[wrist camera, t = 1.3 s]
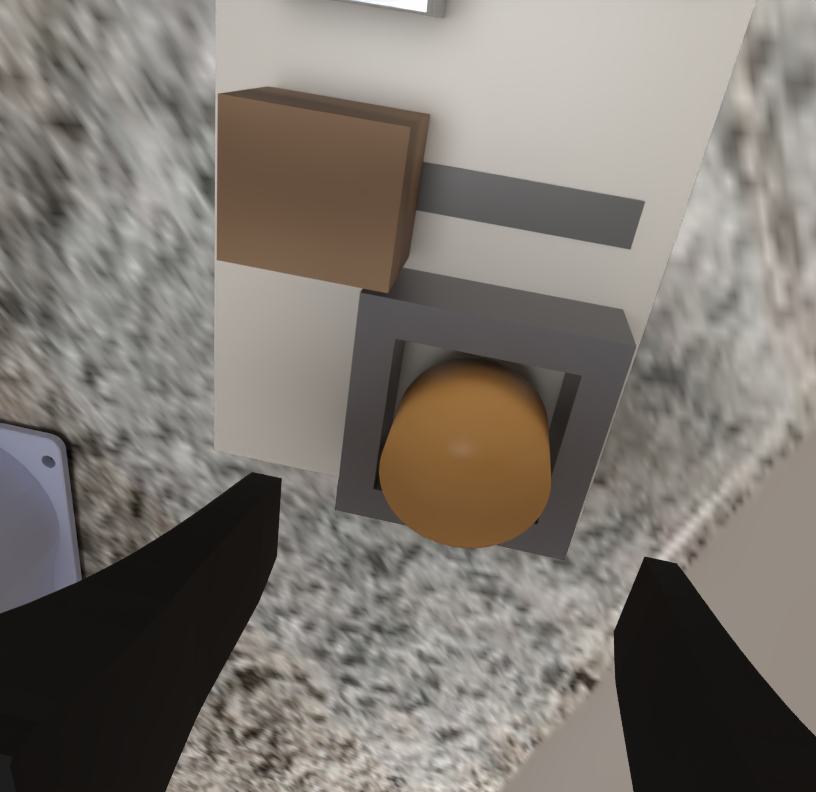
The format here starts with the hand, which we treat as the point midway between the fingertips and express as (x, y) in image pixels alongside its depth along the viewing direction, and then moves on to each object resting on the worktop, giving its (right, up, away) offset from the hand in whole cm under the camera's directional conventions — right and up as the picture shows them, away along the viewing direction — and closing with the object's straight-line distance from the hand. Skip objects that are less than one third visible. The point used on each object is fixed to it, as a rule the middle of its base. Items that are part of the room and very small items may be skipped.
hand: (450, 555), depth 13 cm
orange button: (+1, +2, +5) cm, 5 cm away
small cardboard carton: (-3, +9, +4) cm, 10 cm away
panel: (0, +8, +5) cm, 10 cm away
